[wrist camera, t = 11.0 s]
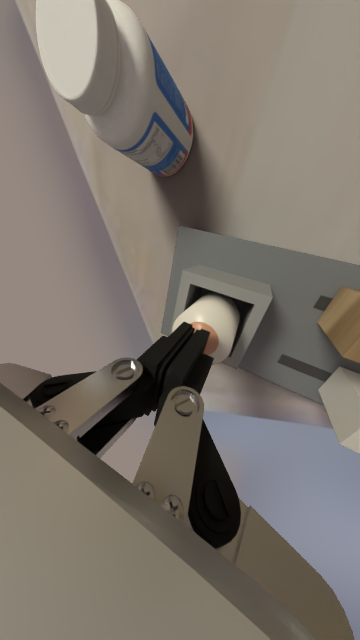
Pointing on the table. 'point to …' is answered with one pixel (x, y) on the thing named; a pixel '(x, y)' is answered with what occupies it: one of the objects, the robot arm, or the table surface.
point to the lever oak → (343, 323)
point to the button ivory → (213, 323)
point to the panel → (265, 304)
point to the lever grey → (343, 406)
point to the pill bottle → (115, 80)
